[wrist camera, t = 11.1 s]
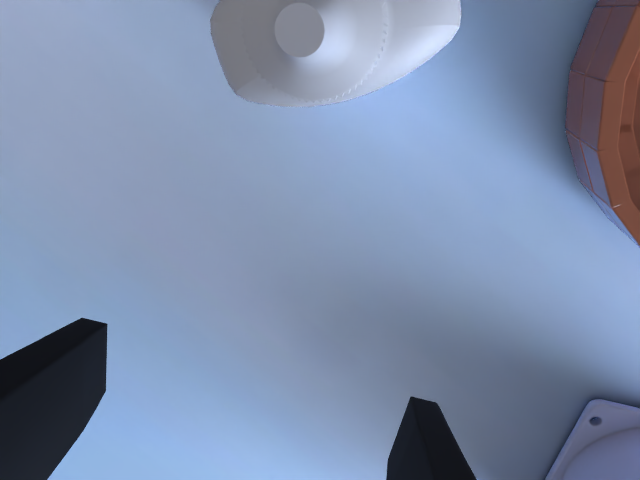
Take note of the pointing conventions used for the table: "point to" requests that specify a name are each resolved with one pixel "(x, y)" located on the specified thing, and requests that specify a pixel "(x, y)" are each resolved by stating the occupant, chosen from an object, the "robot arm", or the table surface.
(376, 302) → the table surface
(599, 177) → the bowl
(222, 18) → the eye dropper bottle
